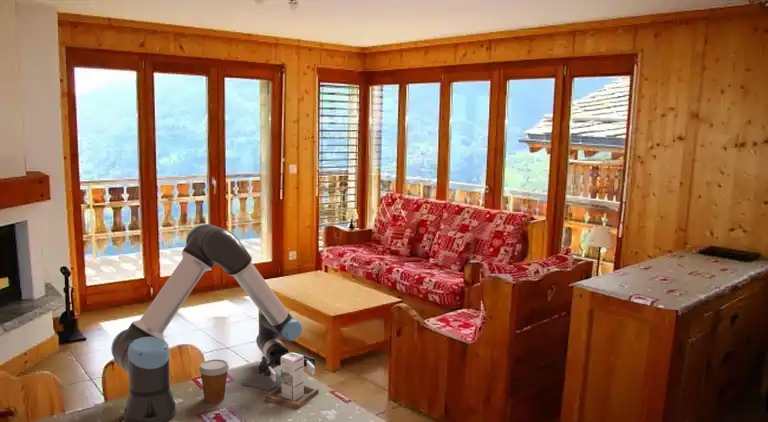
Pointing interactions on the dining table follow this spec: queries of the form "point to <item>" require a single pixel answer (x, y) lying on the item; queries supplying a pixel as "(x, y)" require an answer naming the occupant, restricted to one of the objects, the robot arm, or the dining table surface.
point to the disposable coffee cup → (214, 379)
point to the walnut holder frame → (273, 399)
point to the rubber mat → (262, 382)
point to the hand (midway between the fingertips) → (294, 374)
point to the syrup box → (292, 376)
